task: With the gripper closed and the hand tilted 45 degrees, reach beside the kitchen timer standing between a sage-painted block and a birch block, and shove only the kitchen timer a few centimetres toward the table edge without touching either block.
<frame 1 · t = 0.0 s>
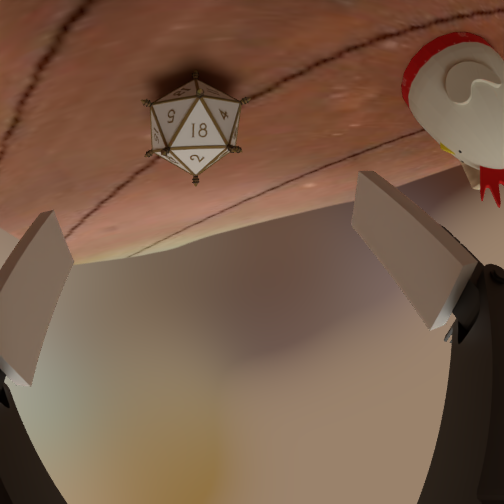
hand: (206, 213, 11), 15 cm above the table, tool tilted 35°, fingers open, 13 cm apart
birch block: (464, 137, 32), on the table
kitchen timer: (451, 76, 21), on the table
game die: (192, 94, 23), on the table
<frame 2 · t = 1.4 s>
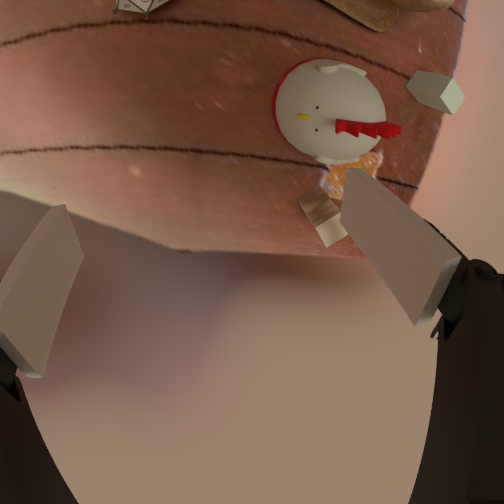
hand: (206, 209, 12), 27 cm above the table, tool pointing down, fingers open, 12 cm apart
birch block: (313, 202, 44), on the table
kitchen timer: (321, 106, 35), on the table
sage block: (418, 86, 34), on the table
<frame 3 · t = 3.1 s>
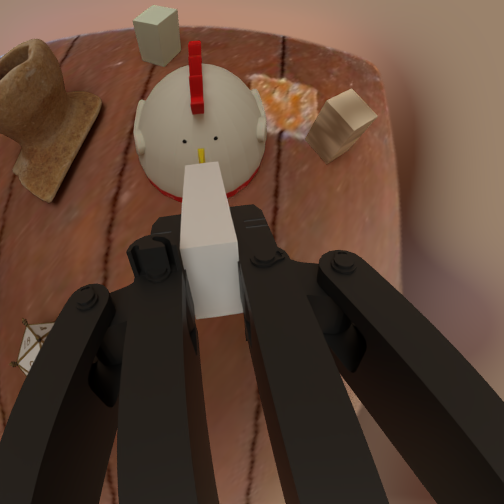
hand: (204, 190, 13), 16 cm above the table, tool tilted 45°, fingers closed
birch block: (327, 144, 33), on the table
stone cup: (55, 143, 29), on the table
kitchen timer: (201, 147, 31), on the table
sage block: (161, 55, 33), on the table
game die: (70, 352, 26), on the table
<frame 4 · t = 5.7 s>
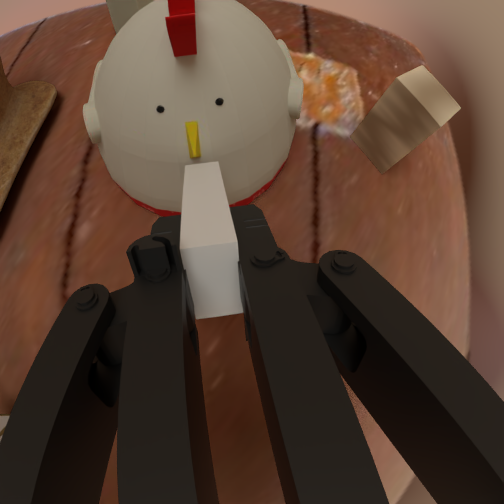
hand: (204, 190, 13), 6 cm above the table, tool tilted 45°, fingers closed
birch block: (379, 145, 22), on the table
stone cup: (1, 154, 18), on the table
kitchen timer: (196, 132, 20), on the table, touching gripper
sage block: (142, 27, 22), on the table
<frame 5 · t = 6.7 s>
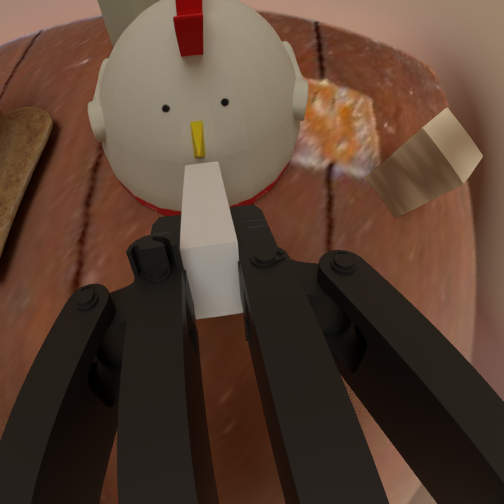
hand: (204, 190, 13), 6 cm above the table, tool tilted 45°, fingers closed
birch block: (394, 185, 21), on the table
kitchen timer: (200, 132, 20), on the table, touching gripper
sage block: (143, 46, 21), on the table
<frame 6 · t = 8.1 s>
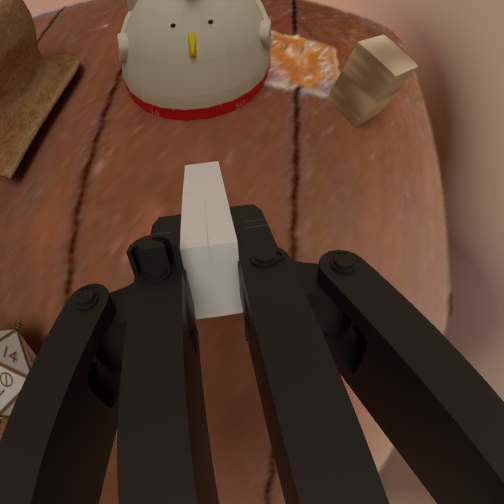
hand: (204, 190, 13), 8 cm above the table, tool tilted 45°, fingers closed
birch block: (354, 105, 25), on the table
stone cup: (26, 113, 21), on the table
kitchen timer: (196, 67, 24), on the table
sage block: (153, 14, 25), on the table
game die: (32, 367, 18), on the table
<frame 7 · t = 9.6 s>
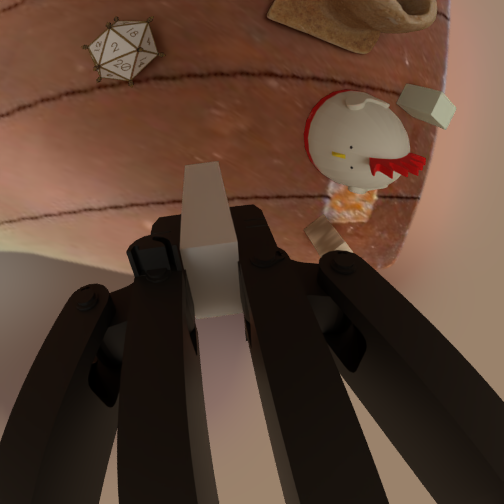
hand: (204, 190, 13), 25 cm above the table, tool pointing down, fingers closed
birch block: (319, 229, 46), on the table
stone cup: (328, 6, 26), on the table
kitchen timer: (347, 135, 38), on the table
sage block: (409, 100, 35), on the table
game die: (130, 52, 26), on the table
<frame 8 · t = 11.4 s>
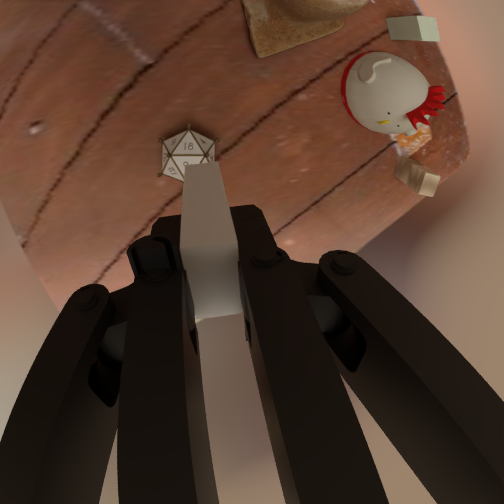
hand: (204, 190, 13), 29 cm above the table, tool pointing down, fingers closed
birch block: (403, 167, 48), on the table
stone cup: (286, 9, 30), on the table
kitchen timer: (377, 90, 39), on the table
sage block: (397, 28, 32), on the table
game die: (188, 148, 40), on the table
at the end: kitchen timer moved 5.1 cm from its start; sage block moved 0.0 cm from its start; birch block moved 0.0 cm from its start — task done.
